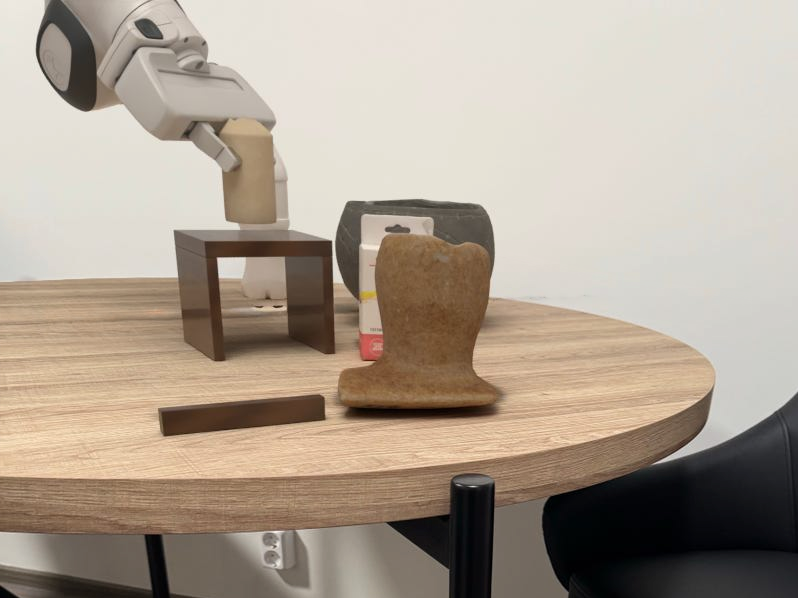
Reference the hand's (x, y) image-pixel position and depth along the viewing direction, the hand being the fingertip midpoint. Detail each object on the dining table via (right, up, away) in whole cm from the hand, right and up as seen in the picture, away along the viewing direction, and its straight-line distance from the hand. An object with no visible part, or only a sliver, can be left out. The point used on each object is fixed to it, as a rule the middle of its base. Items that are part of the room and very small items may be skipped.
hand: (252, 167), depth 100 cm
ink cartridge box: (+15, -18, +8) cm, 25 cm away
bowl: (+15, -8, +27) cm, 32 cm away
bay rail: (+4, -32, -20) cm, 38 cm away
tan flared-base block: (+18, -28, -11) cm, 35 cm away
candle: (-1, -5, +3) cm, 6 cm away
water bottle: (-6, -2, +35) cm, 36 cm away
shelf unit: (-1, -16, +9) cm, 19 cm away
